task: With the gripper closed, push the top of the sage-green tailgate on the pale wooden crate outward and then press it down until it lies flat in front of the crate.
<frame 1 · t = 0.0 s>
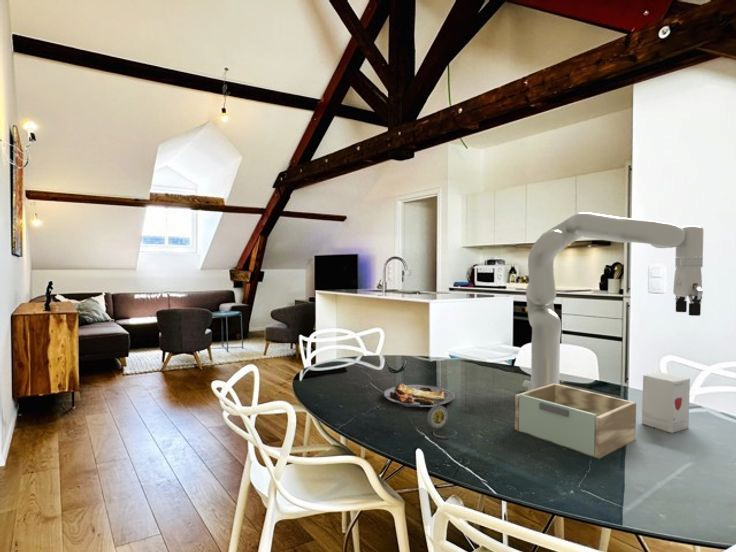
hand: (687, 313, 154), 31 cm above the table, tool pointing down, fingers open, 9 cm apart
crate: (573, 437, 128), on the table
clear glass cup: (442, 434, 130), on the table
food plate: (418, 400, 163), on the table
supplement box: (665, 426, 136), on the table
tailgate: (554, 423, 121), point 6 cm above the table, hinge at 0.0°
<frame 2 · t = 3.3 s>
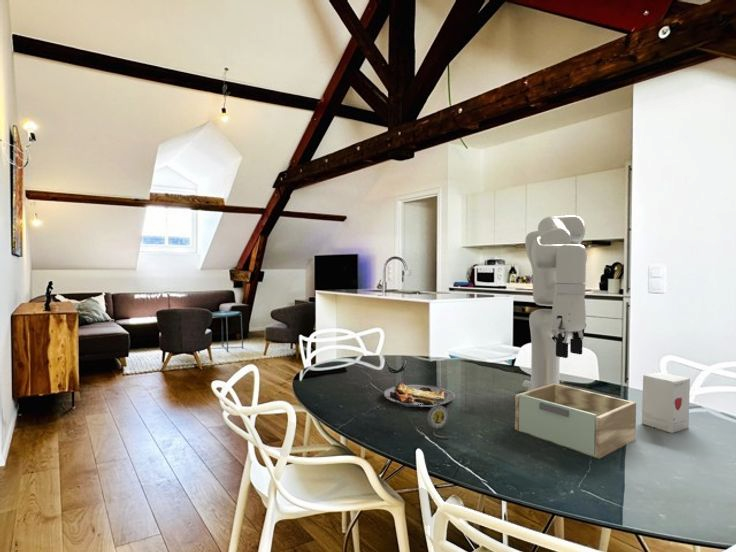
hand: (569, 354, 125), 24 cm above the table, tool pointing down, fingers open, 6 cm apart
nothing on the table moved.
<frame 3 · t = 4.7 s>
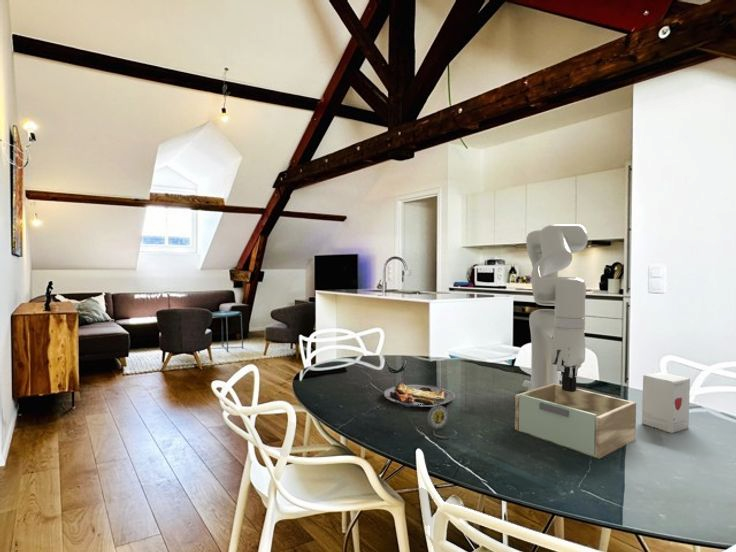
hand: (568, 390, 125), 14 cm above the table, tool pointing down, fingers closed
nothing on the table moved.
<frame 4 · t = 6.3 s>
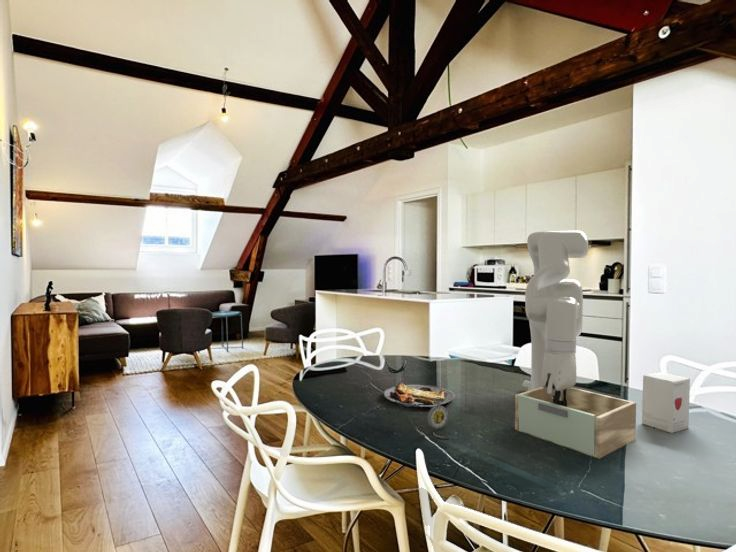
hand: (559, 413, 123), 8 cm above the table, tool pointing down, fingers closed
tailgate: (553, 423, 121), point 6 cm above the table, hinge at 3.7°, touching gripper
everything else where it was.
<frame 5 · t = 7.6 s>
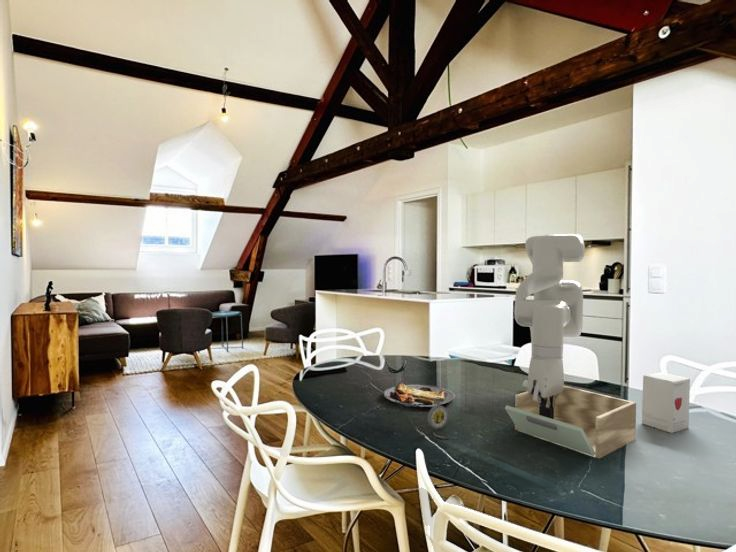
hand: (546, 420, 119), 8 cm above the table, tool pointing down, fingers closed
tailgate: (547, 430, 119), point 5 cm above the table, hinge at 40.3°, touching gripper
everything else where it was.
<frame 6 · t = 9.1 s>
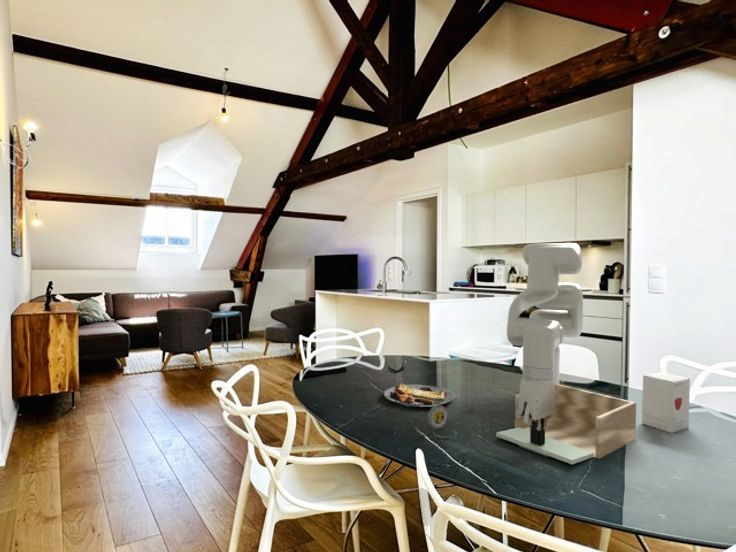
hand: (537, 443, 117), 3 cm above the table, tool pointing down, fingers closed
tailgate: (542, 445, 118), point 2 cm above the table, hinge at 84.8°, touching gripper
everything else where it was.
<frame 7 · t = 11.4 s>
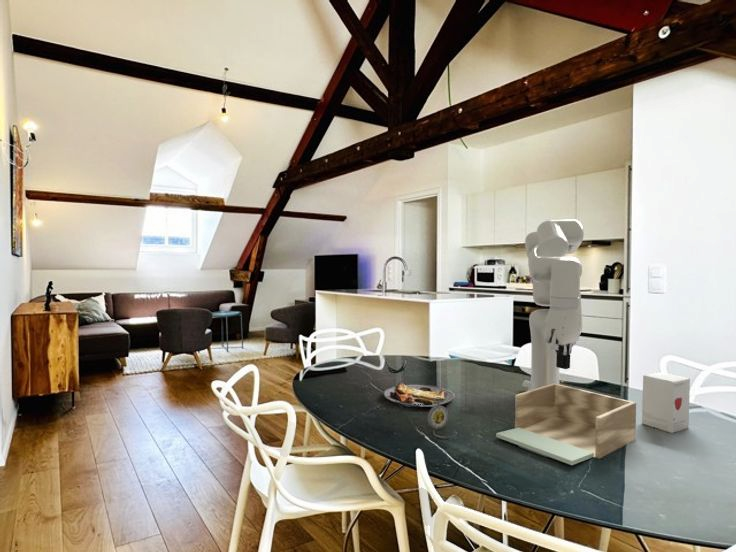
hand: (563, 367, 129), 19 cm above the table, tool pointing down, fingers closed
tailgate: (542, 445, 118), point 2 cm above the table, hinge at 85.9°
everything else where it was.
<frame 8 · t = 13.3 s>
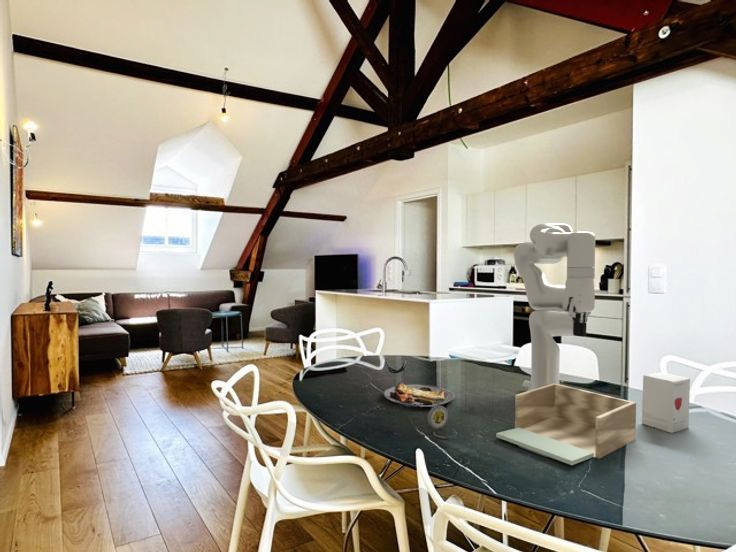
hand: (579, 335, 136), 27 cm above the table, tool pointing down, fingers closed
nothing on the table moved.
at the end: tailgate at +86° (first picture: +0°); supplement box moved 0.3 cm from its start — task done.
